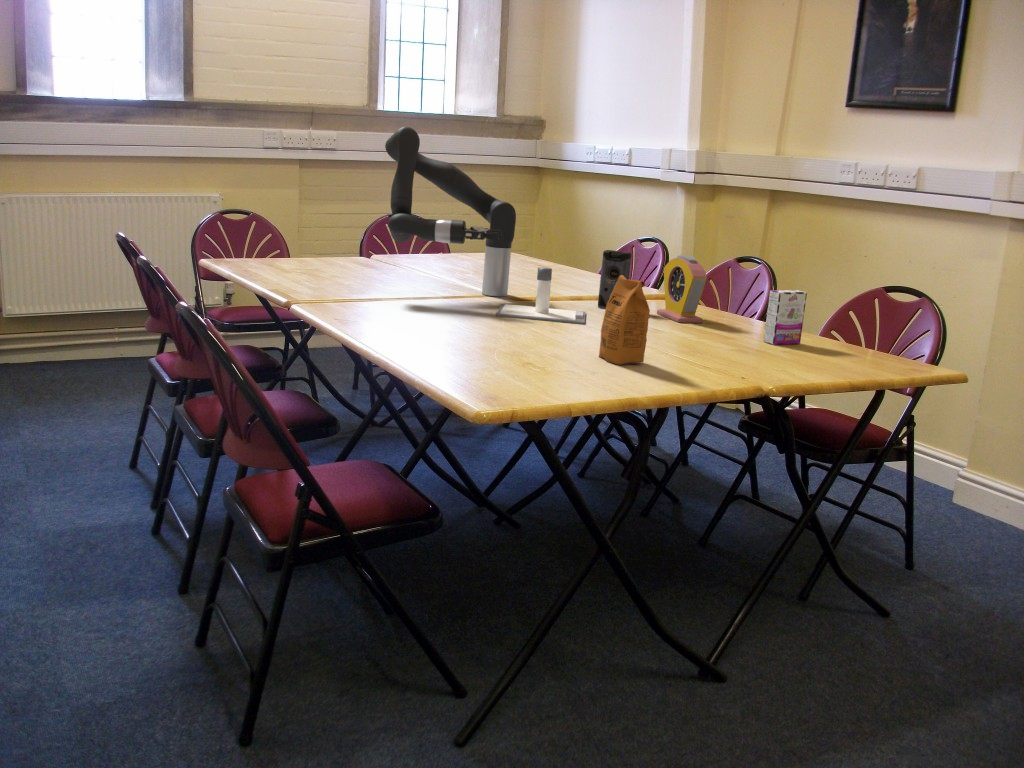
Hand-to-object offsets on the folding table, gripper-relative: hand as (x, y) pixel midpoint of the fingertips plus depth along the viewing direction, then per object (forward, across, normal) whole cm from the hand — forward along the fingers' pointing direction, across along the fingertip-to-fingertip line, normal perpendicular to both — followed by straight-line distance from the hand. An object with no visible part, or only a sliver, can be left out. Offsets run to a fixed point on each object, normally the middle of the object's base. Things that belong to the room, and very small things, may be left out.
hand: (499, 234), depth 317 cm
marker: (+15, -4, +24) cm, 28 cm away
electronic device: (+39, +23, +25) cm, 52 cm away
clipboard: (+15, -4, +24) cm, 29 cm away
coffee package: (+39, -66, +24) cm, 81 cm away
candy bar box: (+90, -16, +26) cm, 95 cm away
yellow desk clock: (+62, +14, +26) cm, 68 cm away
